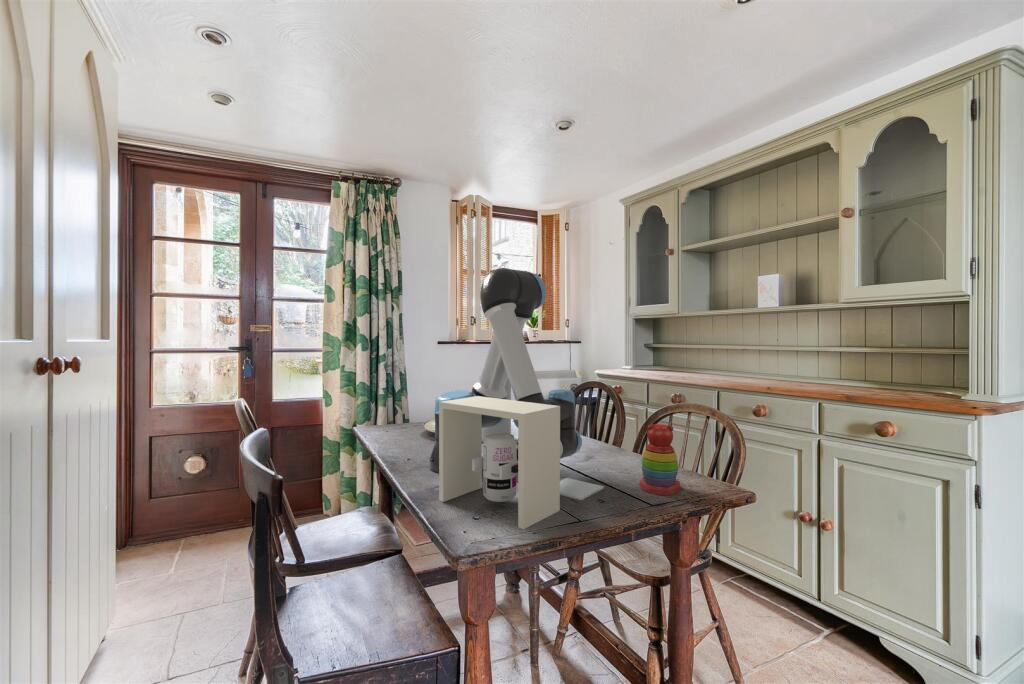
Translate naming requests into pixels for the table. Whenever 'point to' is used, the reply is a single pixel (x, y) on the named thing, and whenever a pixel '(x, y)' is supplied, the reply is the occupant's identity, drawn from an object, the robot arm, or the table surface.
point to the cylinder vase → (504, 425)
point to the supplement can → (498, 466)
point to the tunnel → (534, 452)
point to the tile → (578, 488)
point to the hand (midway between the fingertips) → (486, 468)
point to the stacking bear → (660, 462)
